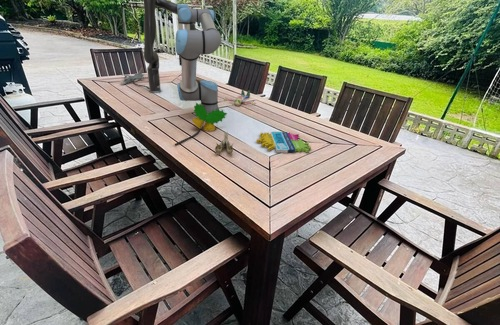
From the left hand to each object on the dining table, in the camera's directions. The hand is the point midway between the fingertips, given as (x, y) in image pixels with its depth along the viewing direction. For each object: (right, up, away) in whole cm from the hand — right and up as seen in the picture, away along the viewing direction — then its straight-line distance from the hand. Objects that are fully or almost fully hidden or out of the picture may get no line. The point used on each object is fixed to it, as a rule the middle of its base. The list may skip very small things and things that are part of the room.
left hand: (192, 57), depth 227 cm
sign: (+69, -80, -74) cm, 129 cm away
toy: (+43, -40, -6) cm, 59 cm away
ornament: (+25, -70, -62) cm, 96 cm away
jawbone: (+37, -85, -88) cm, 128 cm away
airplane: (-65, -10, +33) cm, 74 cm away
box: (+3, -28, +9) cm, 30 cm away
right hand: (+5, -21, -40) cm, 46 cm away
